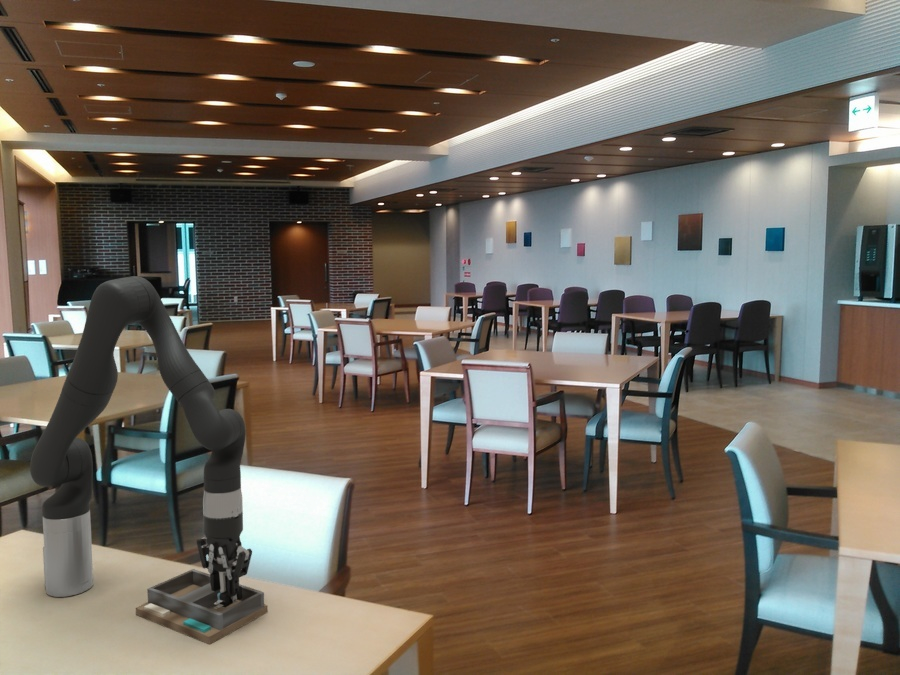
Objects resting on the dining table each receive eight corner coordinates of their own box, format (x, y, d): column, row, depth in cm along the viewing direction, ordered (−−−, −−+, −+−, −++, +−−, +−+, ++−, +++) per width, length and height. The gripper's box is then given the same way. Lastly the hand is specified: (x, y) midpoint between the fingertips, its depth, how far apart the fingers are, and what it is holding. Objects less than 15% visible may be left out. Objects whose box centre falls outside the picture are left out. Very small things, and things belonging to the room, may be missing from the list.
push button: (225, 613, 142) (221, 565, 140) (205, 608, 144) (201, 560, 143) (249, 598, 148) (245, 551, 146) (229, 593, 150) (226, 547, 149)
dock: (135, 614, 148) (135, 593, 147) (195, 587, 160) (195, 567, 160) (209, 644, 136) (208, 621, 136) (267, 612, 149) (267, 591, 149)
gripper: (183, 509, 144) (185, 591, 146) (233, 522, 137) (235, 609, 139) (213, 498, 151) (215, 577, 152) (262, 511, 143) (264, 594, 145)
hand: (224, 592), depth 146 cm, fingers open, 4 cm apart
